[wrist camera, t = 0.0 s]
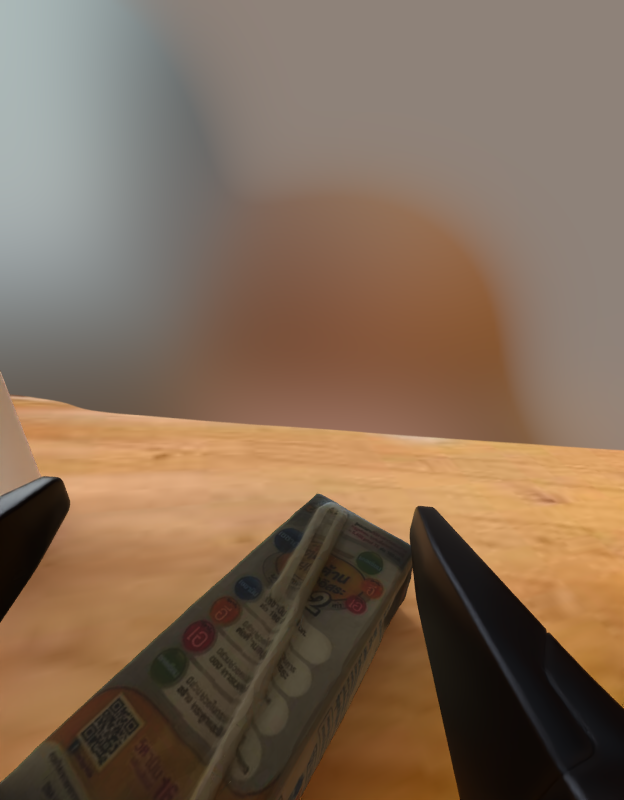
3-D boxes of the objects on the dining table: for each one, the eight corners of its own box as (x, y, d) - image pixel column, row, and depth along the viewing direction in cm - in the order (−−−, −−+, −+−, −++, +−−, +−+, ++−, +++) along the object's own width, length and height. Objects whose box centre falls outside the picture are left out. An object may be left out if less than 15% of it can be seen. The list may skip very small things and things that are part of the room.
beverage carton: (408, 608, 24) (428, 538, 21) (136, 1129, 10) (75, 1152, 7) (311, 546, 28) (316, 480, 25) (22, 862, 14) (-49, 802, 11)
